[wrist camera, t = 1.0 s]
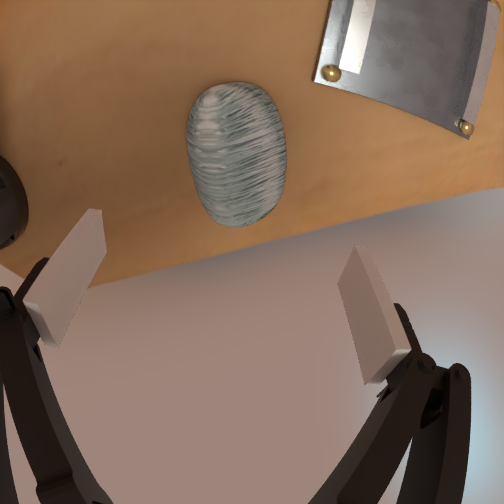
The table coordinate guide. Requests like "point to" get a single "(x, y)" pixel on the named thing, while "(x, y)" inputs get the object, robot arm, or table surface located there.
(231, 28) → the table surface
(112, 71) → the table surface
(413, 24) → the carrier
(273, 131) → the grey rock
